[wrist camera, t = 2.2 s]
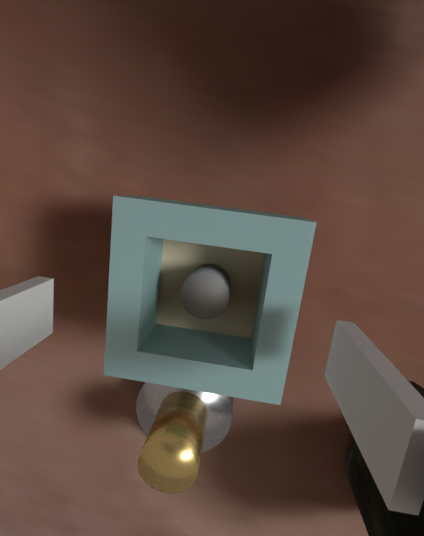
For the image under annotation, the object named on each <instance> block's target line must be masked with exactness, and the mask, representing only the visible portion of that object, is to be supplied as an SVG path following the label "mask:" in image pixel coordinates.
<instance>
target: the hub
mask: <svg viewBox="0 0 424 536" xmlns="http://www.w3.org/2000/svg"><path fill="white" fill-rule="evenodd" d="M232 408H233V397H230V396H224V395H218V394H212V393H206V392H200V391H194V390H189V389H183V388H177V387H171V386H165V385H159V384H153V383H147V382H144V384H143V386H142V388H141V390H140V392H139V394H138V397H137V401H136V415H137V419H138V422H139V424H140V427H141V428H142V430H143V432H144V433H145V434H146V435H147V439H146V441H145V444H144V446H143V449H142V451H141V454H140V456H139V459H138V470H139V473H140V475H141V477H142V478H143V480H144V481H145V482H146V483H147V484H148V485H149V486H150V487H152V488H154V489H155V490H157V491H160V492H164V493H179V492H183V491H185V490H187V489H188V488H190V487H191V486H192V485H193V484H194V482H195V481H196V478H197V475H198V469H199V464H200V458H201V453H203V452H206V451H208V450H210V449H212V448H214V447H215V446H217V445H218V444H219V443H220V442H221V441H222V440H223V439H224V438H225V437H226V435H227V433H228V431H229V429H230V426H231V422H232Z"/></svg>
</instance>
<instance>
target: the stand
mask: <svg viewBox="0 0 424 536" xmlns="http://www.w3.org/2000/svg"><path fill="white" fill-rule="evenodd" d="M264 257H265V253H261V252H254V251H247V250H240V249H232V248H225V247H218V246H211V245H204V244H196V243H189V242H182V241H175V240H168V239H164V243H163V254H162V266H161V277H160V288H159V299H158V310H157V321H156V324H163V325H169V326H176V327H182V328H188V329H195V330H201V331H207V332H214V333H220V334H226V335H233V336H239V337H245V338H251V336H252V330H253V324H254V318H255V312H256V306H257V300H258V294H259V288H260V282H261V275H262V269H263V263H264Z"/></svg>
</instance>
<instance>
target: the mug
mask: <svg viewBox="0 0 424 536" xmlns="http://www.w3.org/2000/svg"><path fill="white" fill-rule="evenodd" d="M347 476H348V480H349V483H350V486H351V488H352V491H353V494H354V496H355V499H356V502H357V505H358V507H359V510H360V513H361V516H362V518H363V521H364V524H365V526H366V529H367V532H368V535H369V536H424V500H423V503H422V506H421V510H420V513H419V516H418V515H413V514H407V513H402V512H396V511H390V510H388V508H387V506H386V504H385V502H384V500H383V497H382V495H381V493H380V491H379V489H378V487H377V485H376V483H375V481H374V479H373V477H372V474H371V472H370V470H369V468H368V466H367V464H366V462H365V460H364V458H363V456H362V454H361V451H360V449H359V447H358V445H357V443H356V441H355V442H354V444H353V446H352V448H351V451H350V453H349V455H348V459H347Z"/></svg>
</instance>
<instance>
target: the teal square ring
mask: <svg viewBox="0 0 424 536" xmlns="http://www.w3.org/2000/svg"><path fill="white" fill-rule="evenodd" d="M316 223H317V222H314V221H311V220H309V219H306V218H303V217H297V216H289V215H282V214H274V213H266V212H259V211H251V210H243V209H236V208H228V207H220V206H212V205H205V204H197V203H189V202H182V201H174V200H166V199H159V198H151V197H143V196H113V210H112V229H111V248H110V267H109V286H108V305H107V324H106V344H105V363H104V375H106V376H112V377H118V378H124V379H130V380H136V381H142V382H147V383H153V384H159V385H165V386H171V387H177V388H183V389H189V390H194V391H200V392H206V393H212V394H218V395H224V396H230V397H235V398H241V399H247V400H253V401H259V402H265V403H271V404H276V405H281V400H282V395H283V390H284V385H285V380H286V375H287V370H288V365H289V360H290V355H291V349H292V344H293V339H294V334H295V329H296V324H297V319H298V314H299V309H300V304H301V299H302V294H303V289H304V284H305V279H306V273H307V268H308V263H309V258H310V253H311V248H312V243H313V238H314V233H315V228H316ZM164 239H168V240H175V241H182V242H189V243H196V244H204V245H211V246H218V247H225V248H232V249H240V250H247V251H254V252H261V253H265V257H264V263H263V269H262V275H261V282H260V288H259V294H258V300H257V306H256V312H255V318H254V324H253V330H252V336H251V338H245V337H239V336H233V335H226V334H220V333H214V332H207V331H201V330H195V329H188V328H182V327H176V326H169V325H163V324H156V321H157V310H158V299H159V288H160V277H161V266H162V254H163V243H164Z"/></svg>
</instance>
